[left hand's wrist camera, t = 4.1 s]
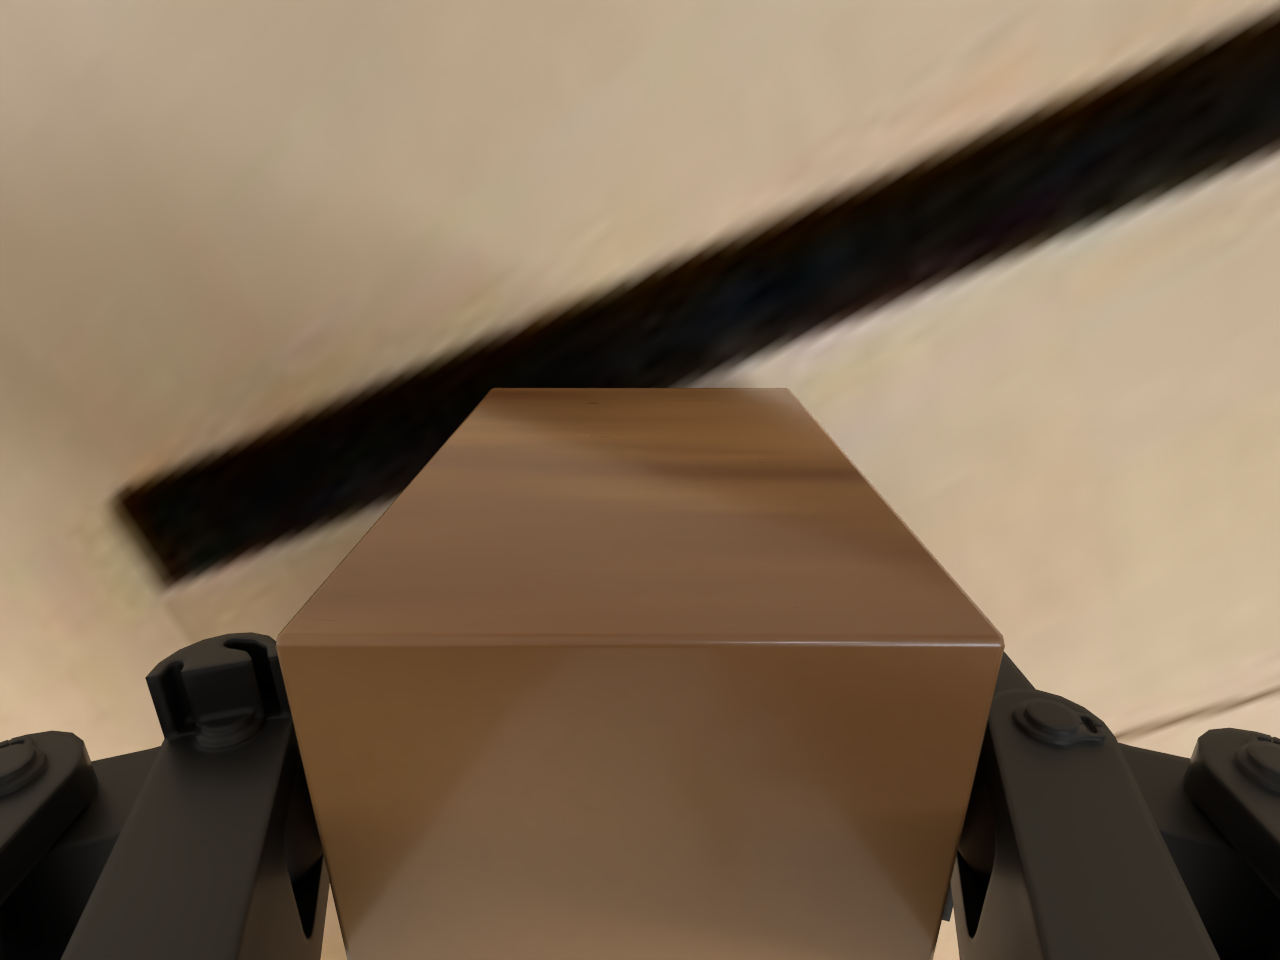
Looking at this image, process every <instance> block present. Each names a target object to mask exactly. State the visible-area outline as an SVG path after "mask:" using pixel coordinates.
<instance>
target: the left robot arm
mask: <svg viewBox="0 0 1280 960" xmlns="http://www.w3.org/2000/svg"><path fill="white" fill-rule="evenodd" d="M146 681H147V684H148V687H149V690H150V693H151V697H152V700H153V703H154V706H155V709H156V712H157V715H158V719H159V722H160V725H161V728H162V731H163V734H164V738H165V739H164V741H163V743H162V745H161V746H159V747H156V748H152V749H148V750H143V751H138V752H134V753H129V754H124V755H120V756H115V757H110V758H106V759H101V760H96V761H92V762H91V760H90V758H89V755H88V752H87V749H86V747H85V744H84V741H83V740H81V739H80V738H79V737H77V736H76V735H75V734H73V733H70V732H60V731H47V732H41V733H35V734H28V735H24V736H20V737H16V738H12V739H11V740H9V741H8V740H6V741H3V742H1V743H0V960H320V958H321V950H322V941H323V933H324V925H325V916H326V908H327V900H328V892H329V883H330V880H329V876H328V872H327V867H326V863H325V859H324V854H323V850H322V846H321V841H320V837H319V832H318V828H317V824H316V819H315V815H314V811H313V806H312V802H311V797H310V793H309V789H308V784H307V780H306V776H305V771H304V767H303V763H302V758H301V754H300V749H299V745H298V741H297V736H296V732H295V728H294V723H293V719H292V715H291V710H290V706H289V701H288V697H287V693H286V688H285V684H284V680H283V675H282V671H281V667H280V662H279V658H278V653H277V649H276V641H275V640H274V639H272V638H271V637H270V636H267V635H262V634H257V633H234V634H226V635H222V636H218V637H213V638H209V639H205V640H202V641H200V642H197V643H195V644H192V645H190V646H187V647H185V648H183V649H180V650H178V651H177V652H175V653H174V654H172V655H170V656H169V657H167V658H166V659H164V660H163V661H161V662H160V663H158V664H157V665H156V667H155V668H154V669H153V670H152V671H151V672H150V673H149V674H148V675H147V677H146ZM953 906H954V915H955V923H956V931H957V939H958V948H959V956H960V960H1280V739H1279V738H1276V737H1274V738H1273V737H1271V736H1270V735H1266V734H1262V733H1258V732H1254V731H1247V730H1241V729H1234V728H1222V729H1212V730H1209V731H1207V732H1206V733H1204V734H1203V735H1202V736H1200V737H1199V738H1198V741H1197V743H1196V746H1195V749H1194V751H1193V754H1192V757H1191V759H1189V758H1184V757H1180V756H1175V755H1170V754H1166V753H1161V752H1156V751H1151V750H1147V749H1142V748H1137V747H1133V746H1129V745H1125V744H1121V743H1118V742H1117V740H1116V738H1115V736H1114V735H1113V734H1112V732H1111V731H1110V730H1109V728H1108V727H1107V726H1106V724H1105V723H1104V722H1103V721H1102V720H1100V719H1099V718H1098V717H1096V716H1095V715H1094V714H1092V713H1091V712H1090V711H1088V710H1087V709H1086V708H1084V707H1082V706H1080V705H1078V704H1076V703H1074V702H1072V701H1070V700H1068V699H1065V698H1063V697H1061V696H1058V695H1054V694H1051V693H1047V692H1043V691H1040V690H1036V689H1035V688H1034V687H1033V686H1032V684H1031V683H1030V682H1029V681H1028V680H1027V678H1026V677H1025V676H1024V675H1023V674H1022V672H1021V671H1020V670H1019V669H1018V668H1017V666H1016V665H1015V664H1014V663H1013V662H1012V660H1011V659H1010V658H1009V657H1008V656H1007V655H1006V653H1005V652H1004V651H1003V656H1002V660H1001V664H1000V669H999V673H998V677H997V682H996V686H995V690H994V695H993V699H992V703H991V708H990V712H989V716H988V721H987V725H986V730H985V734H984V738H983V743H982V747H981V751H980V756H979V760H978V764H977V769H976V773H975V777H974V782H973V786H972V790H971V795H970V799H969V803H968V808H967V812H966V817H965V821H964V825H963V830H962V834H961V838H960V843H959V847H958V851H957V856H956V860H955V864H954V869H953V873H952V877H951V882H950V886H949V890H948V895H947V899H946V904H945V908H944V912H943V917H942V920H945V921H950V917H951V913H952V908H953Z"/></svg>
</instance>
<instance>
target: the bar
mask: <svg viewBox="0 0 1280 960" xmlns="http://www.w3.org/2000/svg"><path fill="white" fill-rule="evenodd" d="M1004 647H1005V645H1004V639H1003V636H1002V634H1001V633H1000V632H999V631H998V630H997V629H996V627H995V626H994V625H993V624H992V623H991V622H990V621H989V619H988V618H987V617H986V616H985V615H984V614H983V612H982V611H981V610H980V609H979V608H978V607H977V606H976V604H975V603H974V602H973V601H972V600H971V599H970V597H969V596H968V595H967V594H966V593H965V592H964V591H963V589H962V588H961V587H960V586H959V585H958V584H957V582H956V581H955V580H954V579H953V578H952V577H951V576H950V574H949V573H948V572H947V571H946V570H945V569H944V567H943V566H942V565H941V564H940V563H939V562H938V561H937V559H936V558H935V557H934V556H933V555H932V554H931V552H930V551H929V550H928V549H927V548H926V547H925V546H924V544H923V543H922V542H921V541H920V540H919V539H918V537H917V536H916V535H915V534H914V533H913V532H912V531H911V529H910V528H909V527H908V526H907V525H906V524H905V523H904V521H903V520H902V519H901V518H900V517H899V516H898V514H897V513H896V512H895V511H894V510H893V509H892V508H891V506H890V505H889V504H888V503H887V502H886V501H885V499H884V498H883V497H882V496H881V495H880V494H879V493H878V491H877V490H876V489H875V488H874V487H873V486H872V484H871V483H870V482H869V481H868V480H867V479H866V478H865V476H864V475H863V474H862V473H861V472H860V471H859V469H858V468H857V467H856V466H855V465H854V464H853V463H852V461H851V460H850V459H849V458H848V457H847V456H846V454H845V453H844V452H843V451H842V450H841V449H840V448H839V446H838V445H837V444H836V443H835V442H834V441H833V439H832V438H831V437H830V436H829V435H828V434H827V433H826V431H825V430H824V429H823V428H822V427H821V426H820V424H819V423H818V422H817V421H816V420H815V419H814V418H813V416H812V415H811V414H810V413H809V412H808V411H807V409H806V408H805V407H804V406H803V405H802V404H801V403H800V401H799V400H798V399H797V398H796V397H795V396H794V394H793V393H792V392H791V391H790V390H789V389H787V388H494V389H491V390H490V391H489V393H488V394H487V395H486V396H485V397H484V398H483V400H482V401H481V402H480V403H479V404H478V405H477V406H476V408H475V409H474V410H473V411H472V412H471V413H470V415H469V416H468V417H467V418H466V419H465V420H464V421H463V423H462V424H461V425H460V426H459V427H458V428H457V429H456V431H455V432H454V433H453V434H452V435H451V436H450V438H449V439H448V440H447V441H446V442H445V443H444V444H443V446H442V447H441V448H440V449H439V450H438V451H437V453H436V454H435V455H434V456H433V457H432V458H431V459H430V461H429V462H428V463H427V464H426V465H425V466H424V468H423V469H422V470H421V471H420V472H419V473H418V474H417V476H416V477H415V478H414V479H413V480H412V481H411V482H410V484H409V485H408V486H407V487H406V488H405V489H404V491H403V492H402V493H401V494H400V495H399V496H398V497H397V499H396V500H395V501H394V502H393V503H392V504H391V506H390V507H389V508H388V509H387V510H386V511H385V512H384V514H383V515H382V516H381V517H380V518H379V519H378V521H377V522H376V523H375V524H374V525H373V526H372V527H371V529H370V530H369V531H368V532H367V533H366V534H365V536H364V537H363V538H362V539H361V540H360V541H359V542H358V544H357V545H356V546H355V547H354V548H353V549H352V550H351V552H350V553H349V554H348V555H347V556H346V557H345V559H344V560H343V561H342V562H341V563H340V564H339V565H338V567H337V568H336V569H335V570H334V571H333V572H332V574H331V575H330V576H329V577H328V578H327V579H326V580H325V582H324V583H323V584H322V585H321V586H320V587H319V589H318V590H317V591H316V592H315V593H314V594H313V595H312V597H311V598H310V599H309V600H308V601H307V602H306V603H305V605H304V606H303V607H302V608H301V609H300V610H299V612H298V613H297V614H296V615H295V616H294V617H293V618H292V620H291V621H290V622H289V623H288V624H287V625H286V627H285V628H284V629H283V630H282V631H281V632H280V633H279V635H278V637H277V641H276V649H277V653H278V658H279V662H280V667H281V671H282V675H283V680H284V684H285V688H286V693H287V697H288V701H289V706H290V710H291V715H292V719H293V723H294V728H295V732H296V736H297V741H298V745H299V749H300V754H301V758H302V763H303V767H304V771H305V776H306V780H307V784H308V789H309V793H310V797H311V802H312V806H313V811H314V815H315V819H316V824H317V828H318V832H319V837H320V841H321V846H322V850H323V854H324V859H325V863H326V867H327V872H328V876H329V880H330V885H331V889H332V894H333V898H334V902H335V907H336V911H337V915H338V920H339V924H340V928H341V933H342V937H343V942H344V946H345V950H346V955H347V959H348V960H933V956H934V951H935V947H936V943H937V938H938V934H939V930H940V925H941V921H942V917H943V912H944V908H945V904H946V899H947V895H948V890H949V886H950V882H951V877H952V873H953V869H954V864H955V860H956V856H957V851H958V847H959V843H960V838H961V834H962V830H963V825H964V821H965V817H966V812H967V808H968V803H969V799H970V795H971V790H972V786H973V782H974V777H975V773H976V769H977V764H978V760H979V756H980V751H981V747H982V743H983V738H984V734H985V730H986V725H987V721H988V716H989V712H990V708H991V703H992V699H993V695H994V690H995V686H996V682H997V677H998V673H999V669H1000V664H1001V660H1002V656H1003V651H1004Z"/></svg>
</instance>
